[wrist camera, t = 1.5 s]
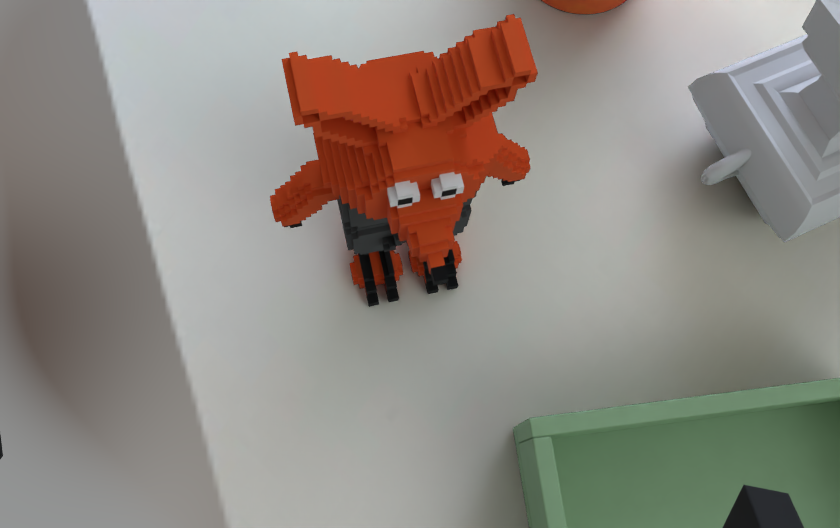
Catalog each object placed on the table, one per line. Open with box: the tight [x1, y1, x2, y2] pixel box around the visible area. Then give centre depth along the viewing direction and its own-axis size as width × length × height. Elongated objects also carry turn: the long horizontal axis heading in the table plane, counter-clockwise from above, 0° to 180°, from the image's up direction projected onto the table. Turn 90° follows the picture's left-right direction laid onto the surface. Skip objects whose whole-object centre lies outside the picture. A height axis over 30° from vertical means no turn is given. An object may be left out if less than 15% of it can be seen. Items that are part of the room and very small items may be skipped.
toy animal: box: [270, 14, 538, 307], centre depth 22 cm, size 8×6×12 cm
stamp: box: [688, 0, 840, 242], centre depth 26 cm, size 9×7×8 cm
